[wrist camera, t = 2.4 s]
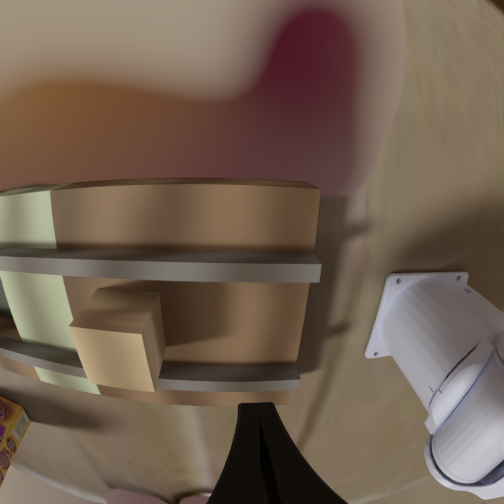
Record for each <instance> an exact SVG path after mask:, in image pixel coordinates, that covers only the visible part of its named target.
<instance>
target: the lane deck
mask: <svg viewBox="0 0 504 504" xmlns="http://www.w3.org/2000/svg"><path fill="white" fill-rule="evenodd" d="M320 195H321V189H319V188H317V187H315V186H313V185H311V184H309V183H307V182H299V181H283V180H264V179H238V178H151V179H150V178H148V179H125V180H104V181H91V182H78V183H66V184H56V185H46V186H37V187H29V188H22V189H14V190H7V191H1V192H0V367H1V368H4V369H6V370H9V371H12V372H15V373H18V374H21V375H24V376H27V377H30V378H34V379H37V380H40V381H44V382H48V383H51V384H55V385H59V386H63V387H67V388H71V389H75V390H80V391H85V392H89V393H94V394H100V395H105V396H111V397H117V398H123V399H130V400H138V401H146V402H155V403H165V404H177V405H193V406H224V407H238V404H240V403H259V402H273V403H274V404H275V405H288V401H289V396H290V392H291V390H298V388H299V384H300V376H299V373H298V369H297V366H296V362H297V357H298V351H299V346H300V340H301V335H302V329H303V323H304V317H305V311H306V305H307V298H308V292H309V285H310V283H316V282H319V280H320V274H321V267H322V264H321V263H320V261H319V260H318V258H317V257H316V256H315V254H314V248H315V240H316V232H317V223H318V214H319V205H320ZM97 289H109V290H126V291H145V292H159V296H160V304H161V313H162V320H163V328H164V335H165V341H166V350H165V354H164V358H163V361H162V365H161V369H160V373H159V377H158V382H157V386H156V390H155V392H147V391H139V390H131V389H124V388H117V387H110V386H104V385H99V384H93V383H89V380H88V378H87V376H86V373H85V371H84V368H83V366H82V363H81V360H80V358H79V355H78V352H77V350H76V347H75V344H74V341H73V338H72V335H71V332H70V329H69V325H70V323H71V322H72V321H73V319H74V318H75V317H76V315H77V314H78V313H79V311H80V310H81V309H82V307H83V306H84V305H85V304H86V302H87V301H88V300H89V298H90V297H91V296H92V295H93V293H94V292H95V291H96V290H97Z"/></svg>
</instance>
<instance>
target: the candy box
mask: <svg viewBox="0 0 504 504" xmlns="http://www.w3.org/2000/svg"><path fill="white" fill-rule="evenodd" d="M30 423H31V422H30V420H29V418H28V416H27V414H26V412H25V410H24V408H23V407H22V406H20V405H18V404H16V403H14V402H12V401H10V400H8V399H7V398H5V397H3V396H1V395H0V487H1V484H2V482H3V480H4V477H5V475H6V472H7V470H8V468H9V466H10V464H11V461H12V459H13V457H14V455H15V453H16V451H17V449H18V447H19V445H20V443H21V441H22V439H23V437H24V435H25V433H26V431H27V429H28V427H29V425H30Z"/></svg>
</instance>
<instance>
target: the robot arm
mask: <svg viewBox="0 0 504 504" xmlns="http://www.w3.org/2000/svg"><path fill="white" fill-rule="evenodd" d="M457 277H458V278H457ZM468 277H469V275H468V273H467V272H432V273H393V274H390V275H389V276H388V277H387V279H386V283H385V287H384V291H383V295H382V299H381V303H380V306H379V310H378V313H377V317H376V320H375V323H374V327H373V330H372V333H371V336H370V339H369V342H368V345H367V348H366V351H365V356H366V357H367V358H377V357H383V356H390V355H391V356H392V357H393V359H394V360H395V362H396V363H397V365H398V366H399V368H400V369H401V371H402V372H403V374H404V375H405V377H406V378H407V380H408V381H409V383H410V385H411V386H412V388H413V389H414V391H415V392H416V394H417V395H418V397H419V399H420V400H421V402H422V403H423V405H424V407H425V408H426V410H427V411H428V413H429V417H428V418H427V420H426V421H425V425H426V426H427V428H428V430H429V432H430V434H429V436H428V438H427V440H426V443H425V448H424V455H425V461H426V464H427V467H428V469H429V470H430V472H431V474H432V475H433V477H434V478H435V479H436V480H437V481H438V482H439V483H441V484H442V485H444V486H445V487H448V488H450V489H453V490H461V491H469V492H472V493H474V494H476V495H477V496H479V497H480V498H482V499H492V498H497V497H502V496H504V313H503V312H502V311H500V310H499V309H498V308H497V307H496V306H494V305H493V304H492V303H491V302H489V301H488V300H487V299H486V298H484V297H483V296H482V295H480V294H479V293H478V292H476V291H475V290H474V289H473V288H471V287H470V286H469V285H467V281H468ZM397 279H399V281H398V282H396V281H397ZM375 352H376V353H375ZM206 504H348V503H347V502H346V501H344V500H343V499H342V498H341V497H340V496H339V495H337V494H336V493H335V492H334V491H333V490H332V489H331V488H330V487H329V486H328V485H327V484H326V483H325V482H324V481H323V480H322V479H321V478H320V477H319V476H318V474H317V473H316V472H315V471H314V470H313V469H312V467H311V466H310V465H309V464H308V462H307V461H306V460H305V458H304V457H303V456H302V454H301V453H300V451H299V450H298V448H297V447H296V445H295V444H294V442H293V440H292V439H291V437H290V436H289V434H288V432H287V430H286V428H285V427H284V425H283V423H282V421H281V419H280V417H279V414H278V412H277V410H276V407H275V404H274V403H273V402H259V403H240V404H238V418H237V425H236V430H235V434H234V438H233V442H232V445H231V449H230V452H229V455H228V458H227V460H226V463H225V466H224V468H223V471H222V473H221V476H220V478H219V480H218V482H217V484H216V486H215V488H214V490H213V492H212V494H211V496H210V498H209V500H208V502H207V503H206ZM481 504H486V503H485V502H483V503H481Z"/></svg>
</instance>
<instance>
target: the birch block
mask: <svg viewBox="0 0 504 504" xmlns="http://www.w3.org/2000/svg"><path fill="white" fill-rule="evenodd" d="M69 329H70V332H71V335H72V338H73V341H74V344H75V347H76V350H77V352H78V355H79V358H80V360H81V363H82V366H83V368H84V371H85V373H86V376H87V378H88V380H89V383H93V384H99V385H104V386H110V387H117V388H124V389H131V390H139V391H147V392H155V390H156V386H157V382H158V377H159V373H160V369H161V365H162V361H163V358H164V354H165V350H166V341H165V335H164V328H163V320H162V313H161V304H160V296H159V292H145V291H126V290H109V289H97V290H96V291H95V292H94V293H93V295H92V296H91V297H90V298H89V300H88V301H87V302H86V304H85V305H84V306H83V307H82V309H81V310H80V311H79V313H78V314H77V315H76V317H75V318H74V319H73V321H72V322H71V323H70V325H69Z"/></svg>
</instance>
